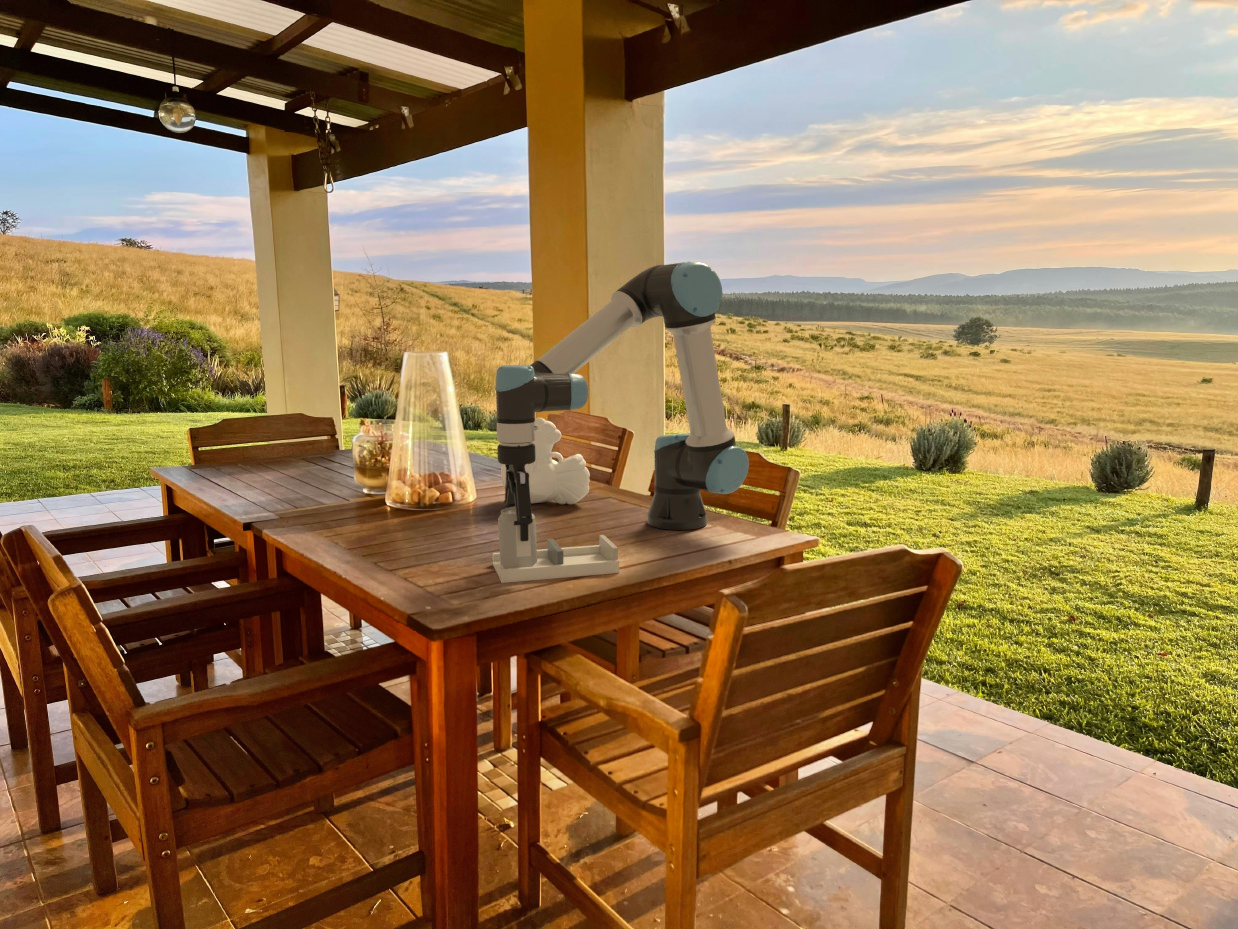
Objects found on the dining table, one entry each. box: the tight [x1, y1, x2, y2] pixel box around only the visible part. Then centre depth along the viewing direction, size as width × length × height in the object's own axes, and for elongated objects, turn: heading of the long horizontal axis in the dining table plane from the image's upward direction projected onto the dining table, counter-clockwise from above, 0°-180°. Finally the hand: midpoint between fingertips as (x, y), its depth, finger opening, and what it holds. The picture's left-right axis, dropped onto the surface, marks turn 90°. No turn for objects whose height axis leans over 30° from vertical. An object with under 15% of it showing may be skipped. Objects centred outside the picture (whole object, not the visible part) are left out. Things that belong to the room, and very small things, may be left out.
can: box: [497, 507, 538, 569], centre depth 165 cm, size 8×8×12 cm
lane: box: [492, 534, 620, 584], centre depth 168 cm, size 24×13×5 cm, turn 106°
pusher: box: [546, 537, 563, 565], centre depth 168 cm, size 1×10×4 cm, turn 16°
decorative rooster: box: [500, 417, 591, 505], centre depth 226 cm, size 25×16×25 cm
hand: (518, 547), depth 165 cm, fingers open, 12 cm apart
